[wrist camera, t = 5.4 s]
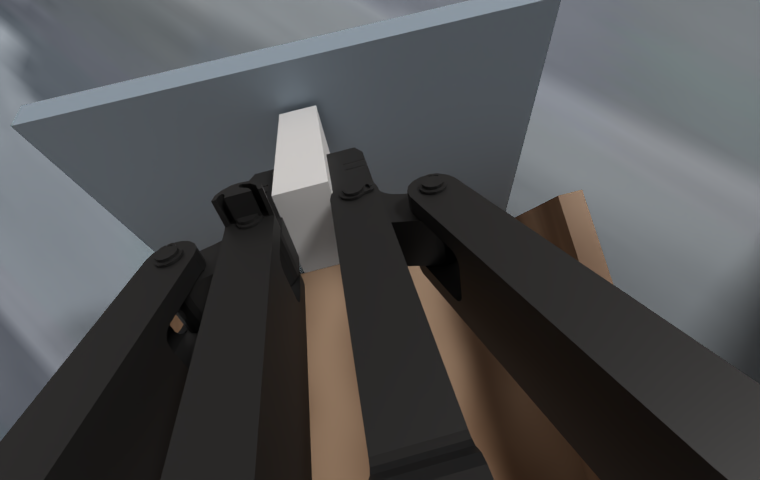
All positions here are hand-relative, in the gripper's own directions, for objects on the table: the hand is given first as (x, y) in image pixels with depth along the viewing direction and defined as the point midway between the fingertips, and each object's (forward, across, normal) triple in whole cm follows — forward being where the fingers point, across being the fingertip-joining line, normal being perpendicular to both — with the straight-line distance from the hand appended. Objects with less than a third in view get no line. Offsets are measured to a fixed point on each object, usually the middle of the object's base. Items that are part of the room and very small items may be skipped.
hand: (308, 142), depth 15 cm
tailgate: (+5, 0, -9) cm, 10 cm away
